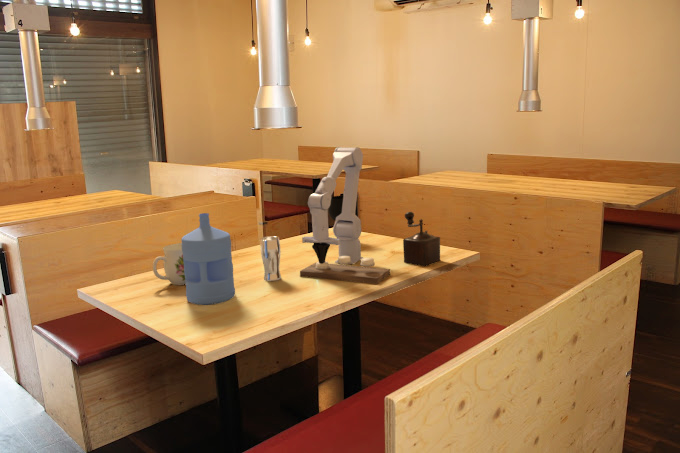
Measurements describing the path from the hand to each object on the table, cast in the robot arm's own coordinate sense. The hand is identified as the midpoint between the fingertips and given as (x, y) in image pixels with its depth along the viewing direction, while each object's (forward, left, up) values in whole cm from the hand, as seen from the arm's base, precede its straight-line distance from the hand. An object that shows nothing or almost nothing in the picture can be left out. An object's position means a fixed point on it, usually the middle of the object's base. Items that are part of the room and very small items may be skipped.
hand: (322, 262), depth 224 cm
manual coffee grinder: (-27, +27, -4) cm, 38 cm away
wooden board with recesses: (0, +9, -4) cm, 10 cm away
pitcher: (+27, -44, -4) cm, 52 cm away
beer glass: (+12, -14, -4) cm, 19 cm away
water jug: (+37, -22, -4) cm, 43 cm away
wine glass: (-47, -15, -4) cm, 50 cm away
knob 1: (0, 0, -2) cm, 2 cm away
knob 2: (0, +9, +1) cm, 9 cm away
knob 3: (0, +18, +1) cm, 18 cm away
